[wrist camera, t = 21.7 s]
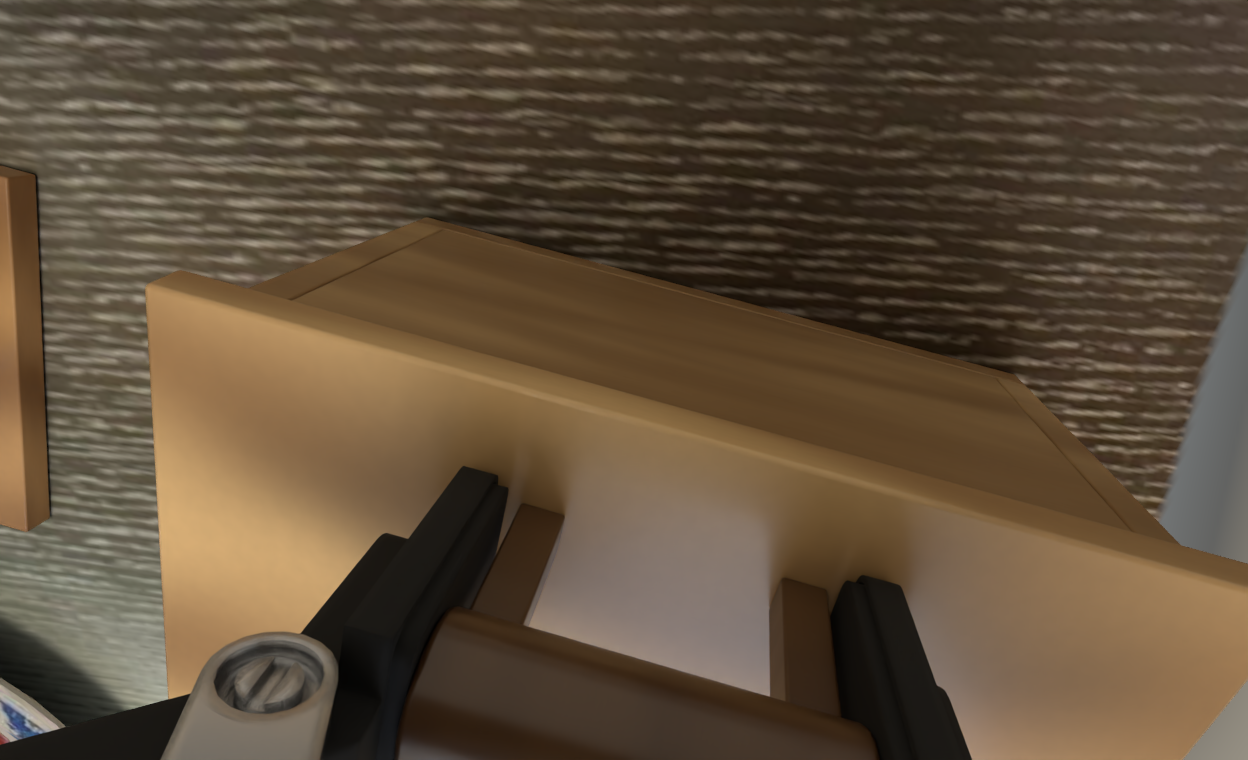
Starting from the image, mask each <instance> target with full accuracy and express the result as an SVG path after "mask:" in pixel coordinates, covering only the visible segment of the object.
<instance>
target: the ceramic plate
mask: <svg viewBox="0 0 1248 760" xmlns="http://www.w3.org/2000/svg"><path fill="white" fill-rule="evenodd" d="M64 727H66V726H65V725H63V724H62V723H61V722H60V721H59V720H58V719H57V718H55V717H54V716H53V715H52V714H51V713H50V712H48V711H47V710H46V709H45V708H44V707H43V706H41V705H40V704H39V703H38V702H37V701H35V700H34V699H33V698H31V697H30V696H28V695H26V694H25V693H23V692H22V691H20V690H19V689H17V688H16V687H14V686H12V685H11V684H9V683H8V682H6V681H5V680H3V679H2V678H0V745H1V744H4V743H8V742H12V741H16V740H19V739H23V738H27V737H30V736H34V735H38V734H42V733H45V732H49V731H53V730H57V729H60V728H64Z"/></svg>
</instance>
